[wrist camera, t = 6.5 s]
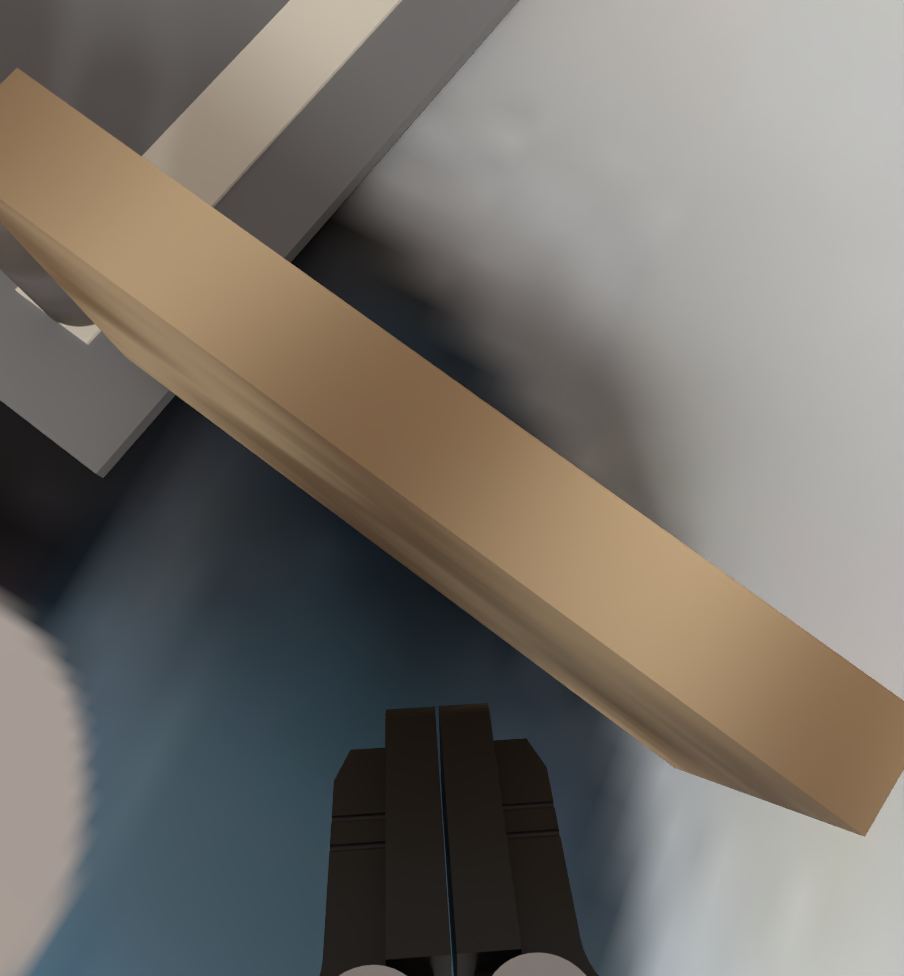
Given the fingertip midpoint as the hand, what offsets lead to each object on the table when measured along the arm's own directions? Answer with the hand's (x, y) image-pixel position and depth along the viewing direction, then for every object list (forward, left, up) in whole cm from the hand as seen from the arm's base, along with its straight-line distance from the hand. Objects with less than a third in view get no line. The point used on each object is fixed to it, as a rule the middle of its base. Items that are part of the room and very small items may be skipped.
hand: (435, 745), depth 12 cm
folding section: (-2, +4, -4) cm, 5 cm away
